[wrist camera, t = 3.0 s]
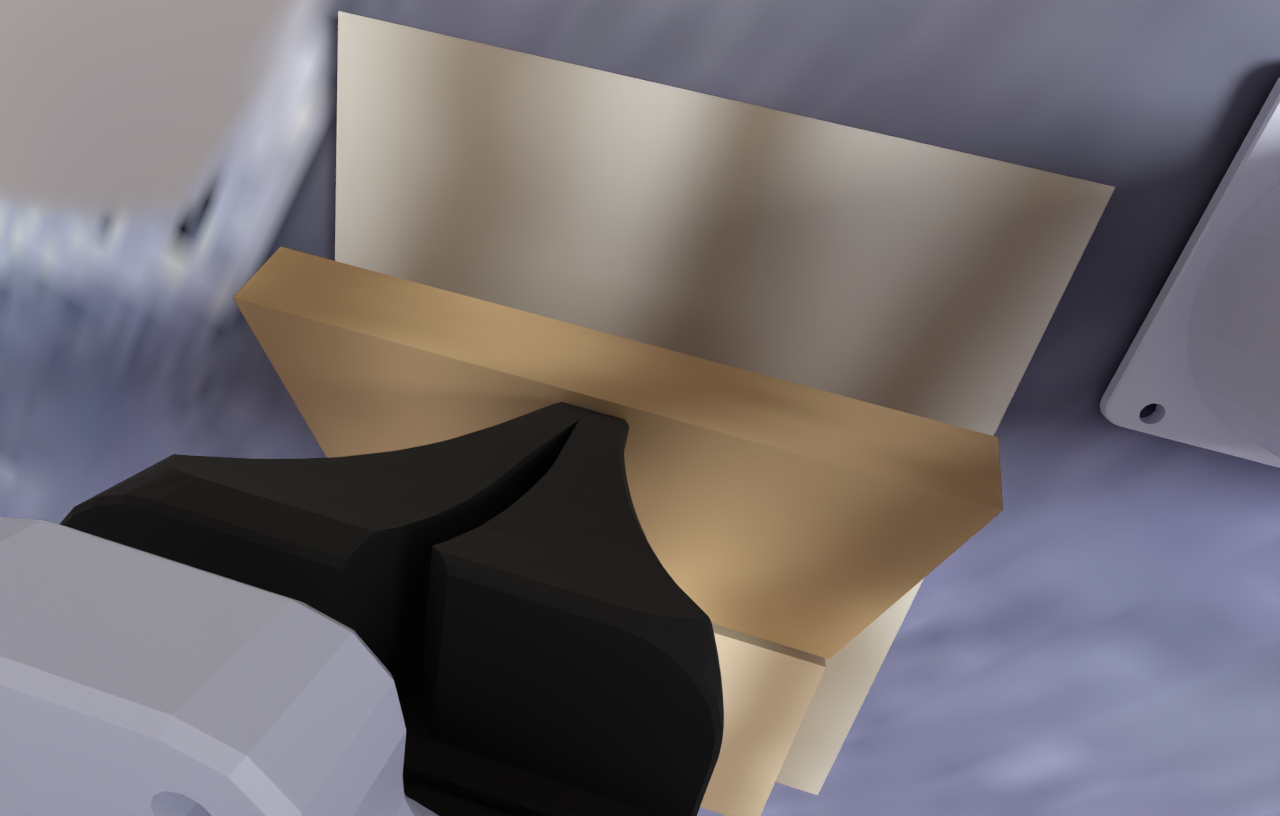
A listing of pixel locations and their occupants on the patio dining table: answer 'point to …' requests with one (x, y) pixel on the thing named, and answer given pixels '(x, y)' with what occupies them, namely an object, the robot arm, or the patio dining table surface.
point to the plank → (647, 441)
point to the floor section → (712, 274)
